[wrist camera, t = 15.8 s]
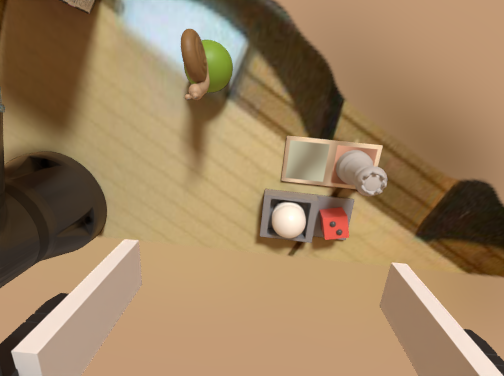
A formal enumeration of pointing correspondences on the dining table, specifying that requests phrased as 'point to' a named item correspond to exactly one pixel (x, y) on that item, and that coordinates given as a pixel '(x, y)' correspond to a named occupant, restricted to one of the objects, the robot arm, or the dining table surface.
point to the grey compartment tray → (310, 215)
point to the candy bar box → (81, 4)
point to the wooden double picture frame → (320, 160)
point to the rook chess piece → (361, 173)
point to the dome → (288, 219)
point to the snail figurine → (204, 64)
